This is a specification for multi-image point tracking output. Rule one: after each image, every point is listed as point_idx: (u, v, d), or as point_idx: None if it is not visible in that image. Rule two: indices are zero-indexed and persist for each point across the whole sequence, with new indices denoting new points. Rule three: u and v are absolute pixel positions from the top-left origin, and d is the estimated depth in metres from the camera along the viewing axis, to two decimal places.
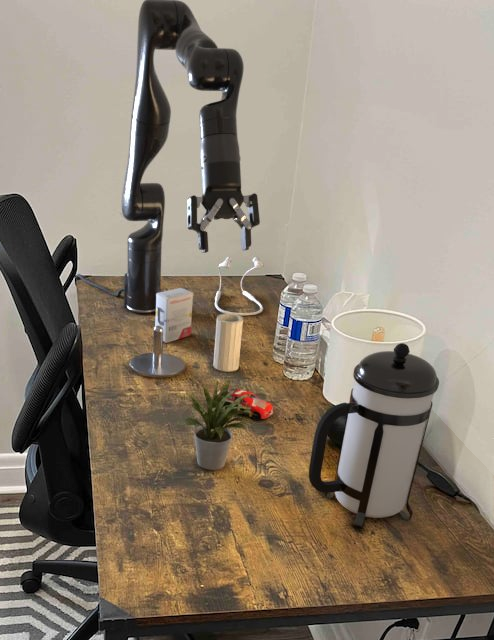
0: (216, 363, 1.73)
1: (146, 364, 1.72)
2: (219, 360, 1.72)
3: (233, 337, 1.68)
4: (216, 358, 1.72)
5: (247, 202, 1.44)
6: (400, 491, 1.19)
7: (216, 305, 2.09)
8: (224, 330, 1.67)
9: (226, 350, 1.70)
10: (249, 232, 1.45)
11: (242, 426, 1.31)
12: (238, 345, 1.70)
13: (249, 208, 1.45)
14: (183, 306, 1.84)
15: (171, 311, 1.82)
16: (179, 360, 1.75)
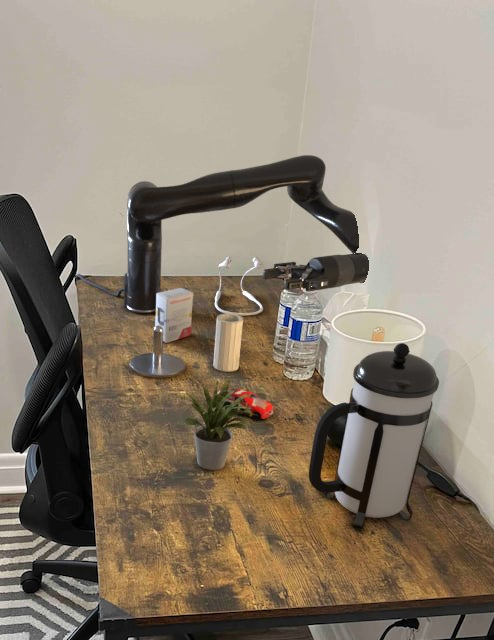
0: (216, 363, 1.73)
1: (146, 364, 1.72)
2: (219, 360, 1.72)
3: (233, 337, 1.68)
4: (216, 358, 1.72)
5: None
6: (400, 491, 1.19)
7: (216, 305, 2.09)
8: (224, 330, 1.67)
9: (226, 350, 1.70)
10: (298, 281, 1.66)
11: (242, 426, 1.31)
12: (238, 345, 1.70)
13: None
14: (183, 306, 1.84)
15: (171, 311, 1.82)
16: (179, 360, 1.75)
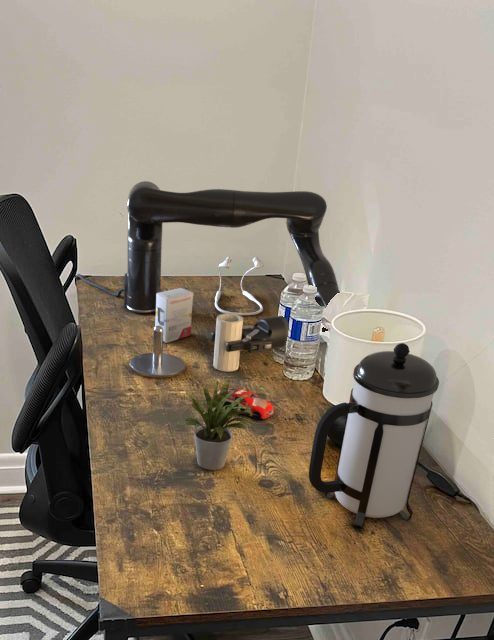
0: (216, 363, 1.73)
1: (146, 364, 1.72)
2: (219, 360, 1.72)
3: (233, 337, 1.68)
4: (216, 358, 1.72)
5: None
6: (400, 491, 1.19)
7: (216, 305, 2.09)
8: (224, 330, 1.67)
9: None
10: (240, 343, 1.69)
11: (242, 426, 1.31)
12: None
13: None
14: (183, 306, 1.84)
15: (171, 311, 1.82)
16: (179, 360, 1.75)
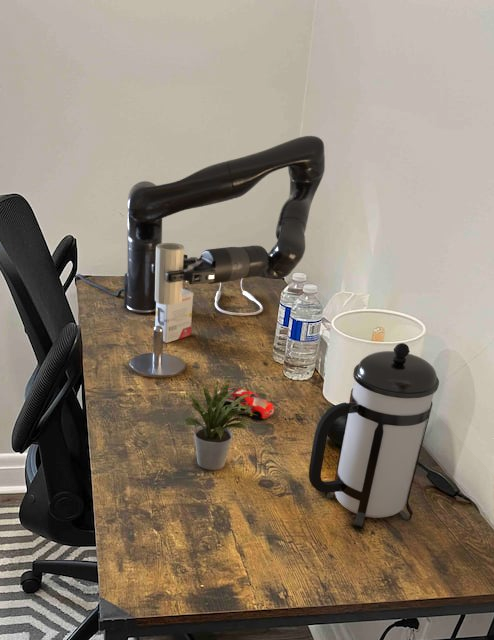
0: (157, 296, 1.63)
1: (146, 364, 1.72)
2: (160, 293, 1.62)
3: (173, 266, 1.58)
4: (157, 291, 1.62)
5: None
6: (400, 491, 1.19)
7: (216, 305, 2.09)
8: (163, 259, 1.57)
9: None
10: (181, 273, 1.59)
11: (242, 426, 1.31)
12: None
13: None
14: (183, 306, 1.84)
15: (171, 311, 1.82)
16: (179, 360, 1.75)
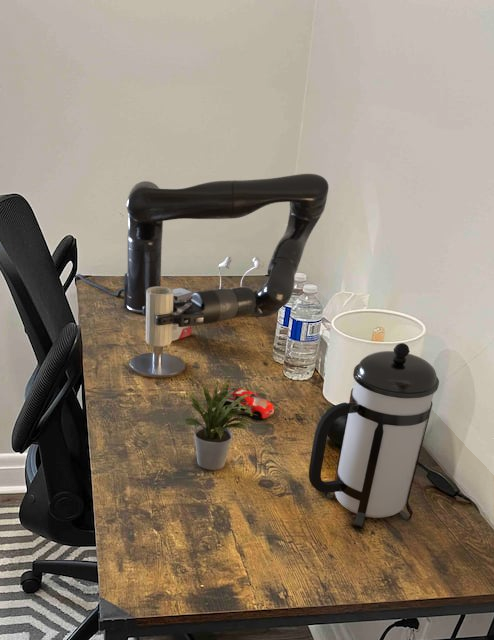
0: (148, 338, 1.68)
1: (146, 364, 1.72)
2: (150, 334, 1.67)
3: (163, 310, 1.63)
4: (147, 333, 1.67)
5: None
6: (400, 491, 1.19)
7: None
8: (153, 303, 1.62)
9: None
10: (170, 316, 1.64)
11: (242, 426, 1.31)
12: None
13: None
14: None
15: None
16: (179, 360, 1.75)
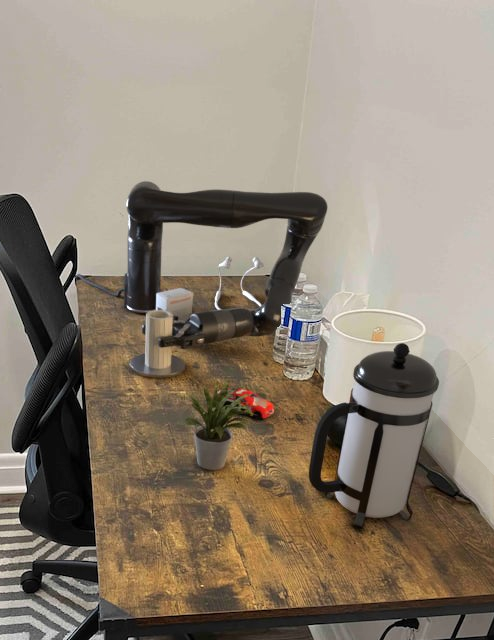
0: (147, 360, 1.71)
1: None
2: (150, 357, 1.70)
3: (162, 334, 1.66)
4: (147, 355, 1.70)
5: None
6: (400, 491, 1.19)
7: (216, 305, 2.09)
8: (153, 327, 1.65)
9: (156, 347, 1.68)
10: (173, 339, 1.66)
11: (242, 426, 1.31)
12: None
13: None
14: (183, 306, 1.84)
15: (171, 311, 1.82)
16: (179, 360, 1.75)
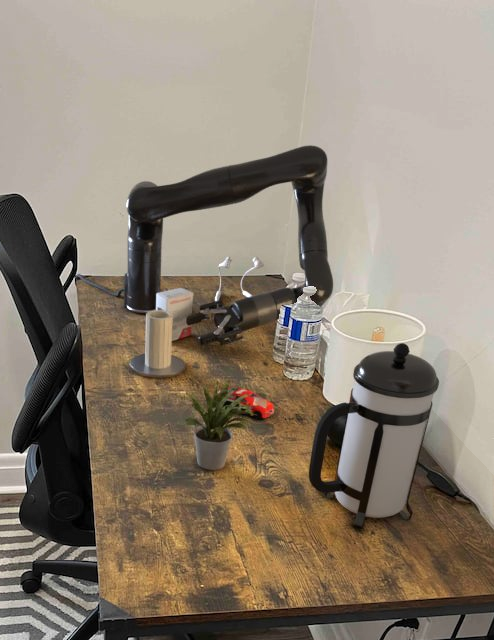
0: (147, 360, 1.71)
1: None
2: (150, 357, 1.70)
3: (162, 334, 1.66)
4: (147, 355, 1.70)
5: None
6: (400, 491, 1.19)
7: None
8: (153, 327, 1.65)
9: (156, 347, 1.68)
10: (212, 336, 1.74)
11: (242, 426, 1.31)
12: (168, 342, 1.68)
13: None
14: (183, 306, 1.84)
15: (171, 311, 1.82)
16: (179, 360, 1.75)
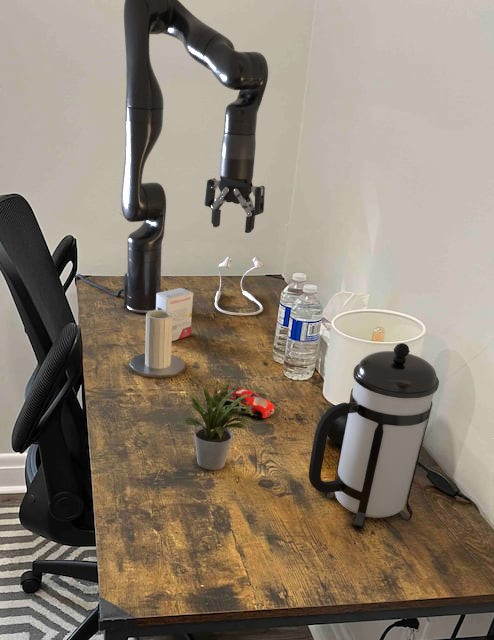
0: (147, 360, 1.71)
1: None
2: (150, 357, 1.70)
3: (162, 334, 1.66)
4: (147, 355, 1.70)
5: (254, 193, 1.66)
6: (400, 491, 1.19)
7: (216, 305, 2.09)
8: (153, 327, 1.65)
9: (156, 347, 1.68)
10: (251, 219, 1.68)
11: (242, 426, 1.31)
12: (168, 342, 1.68)
13: None
14: (183, 306, 1.84)
15: (171, 311, 1.82)
16: (179, 360, 1.75)
